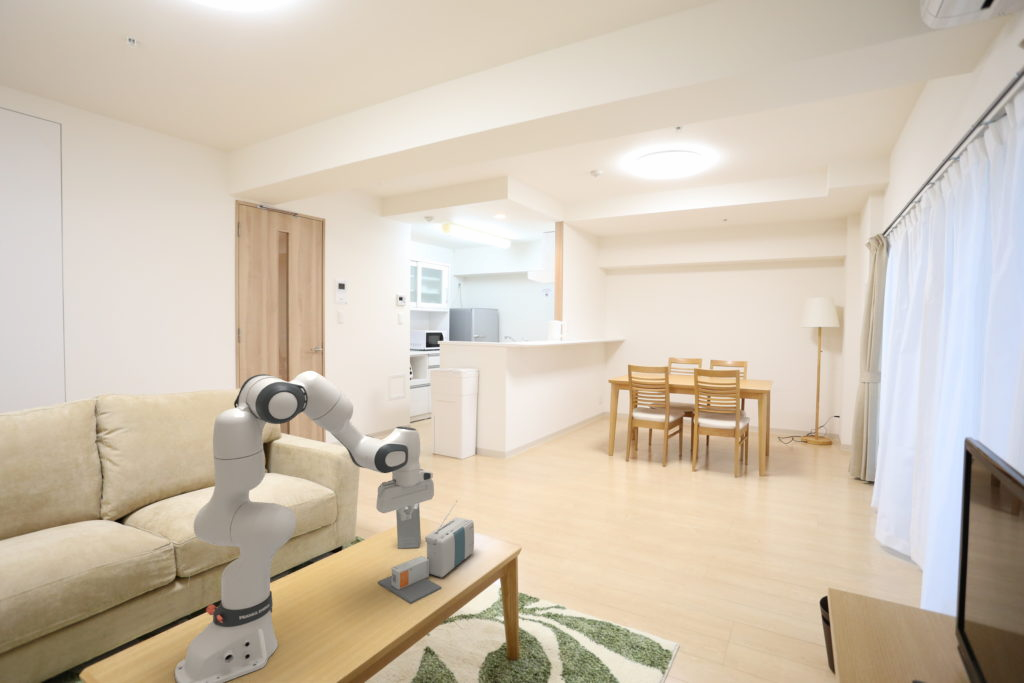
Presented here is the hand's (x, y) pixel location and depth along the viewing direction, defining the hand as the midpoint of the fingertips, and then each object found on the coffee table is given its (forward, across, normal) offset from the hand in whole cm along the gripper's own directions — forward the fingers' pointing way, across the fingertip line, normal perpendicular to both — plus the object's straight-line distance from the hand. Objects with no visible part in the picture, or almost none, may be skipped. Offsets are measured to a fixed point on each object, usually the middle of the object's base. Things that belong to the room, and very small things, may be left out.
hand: (406, 519), depth 159 cm
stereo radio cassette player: (+22, +20, +2) cm, 30 cm away
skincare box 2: (+19, -3, +2) cm, 19 cm away
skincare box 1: (+22, +20, +25) cm, 39 cm away
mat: (+22, +2, 0) cm, 22 cm away
